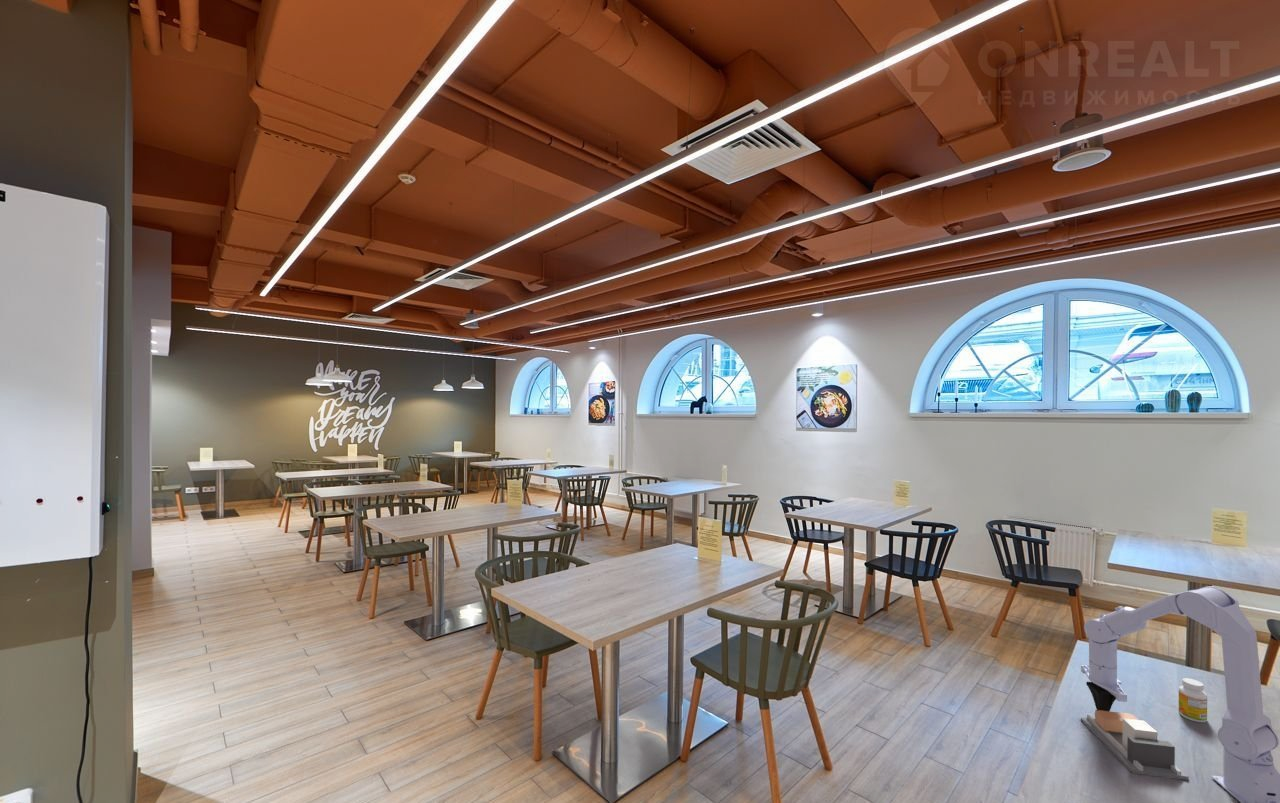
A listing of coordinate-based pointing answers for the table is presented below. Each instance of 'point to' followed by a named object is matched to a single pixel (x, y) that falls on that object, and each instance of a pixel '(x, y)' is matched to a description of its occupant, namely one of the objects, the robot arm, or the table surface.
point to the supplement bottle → (1193, 700)
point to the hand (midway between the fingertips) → (1102, 712)
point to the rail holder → (1139, 752)
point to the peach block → (1112, 720)
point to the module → (1137, 730)
